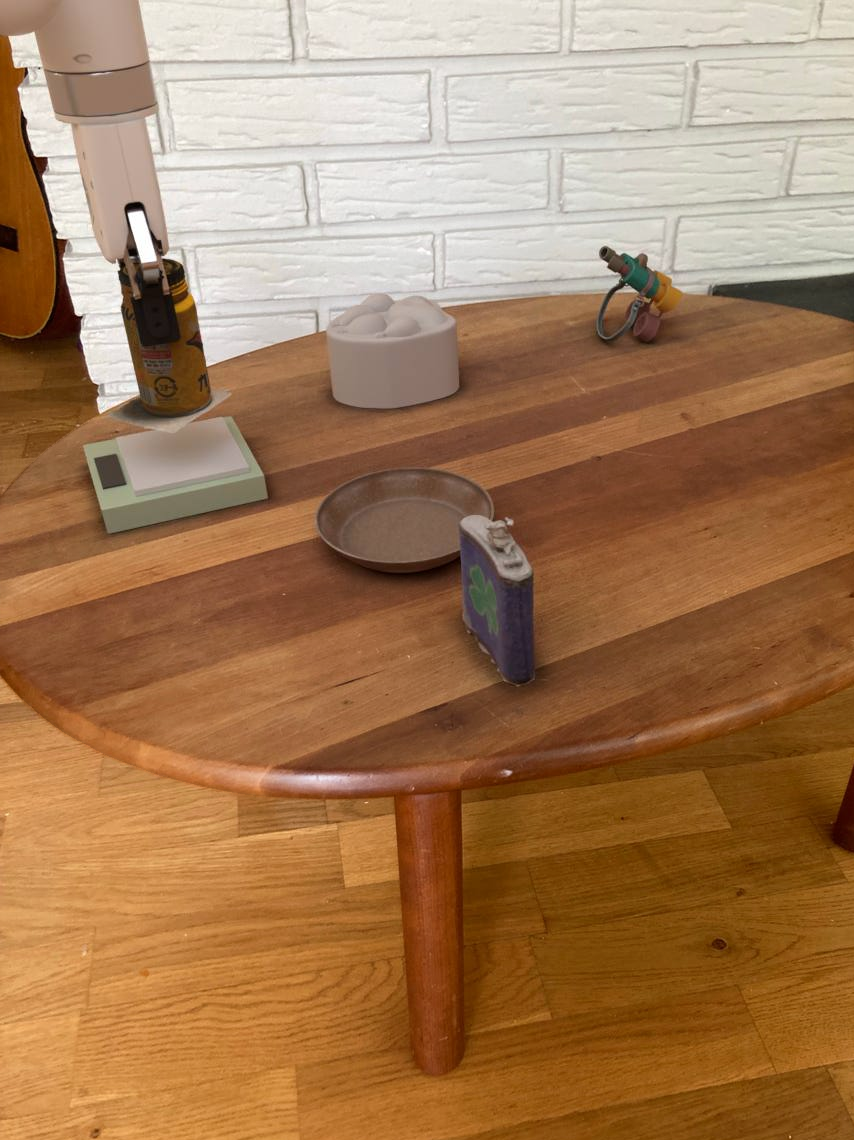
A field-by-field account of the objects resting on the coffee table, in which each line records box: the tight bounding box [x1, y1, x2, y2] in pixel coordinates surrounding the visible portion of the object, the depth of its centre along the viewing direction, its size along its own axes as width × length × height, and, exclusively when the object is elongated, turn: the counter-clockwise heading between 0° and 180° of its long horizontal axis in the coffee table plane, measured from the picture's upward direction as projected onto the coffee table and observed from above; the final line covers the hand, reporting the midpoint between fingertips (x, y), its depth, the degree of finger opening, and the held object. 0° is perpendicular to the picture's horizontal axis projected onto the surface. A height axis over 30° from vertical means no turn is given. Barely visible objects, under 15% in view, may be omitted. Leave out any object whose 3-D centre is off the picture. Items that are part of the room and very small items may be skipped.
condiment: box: [104, 257, 233, 433], centre depth 90 cm, size 7×8×12 cm
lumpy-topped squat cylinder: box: [325, 292, 460, 409], centre depth 112 cm, size 10×13×9 cm
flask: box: [459, 515, 536, 688], centre depth 75 cm, size 9×3×11 cm, turn 24°
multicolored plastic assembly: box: [596, 245, 683, 343], centre depth 121 cm, size 9×9×10 cm
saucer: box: [314, 466, 495, 574], centre depth 90 cm, size 15×15×3 cm
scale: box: [82, 415, 269, 535], centre depth 98 cm, size 14×13×3 cm
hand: (153, 326), depth 90 cm, fingers closed on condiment, 6 cm apart
